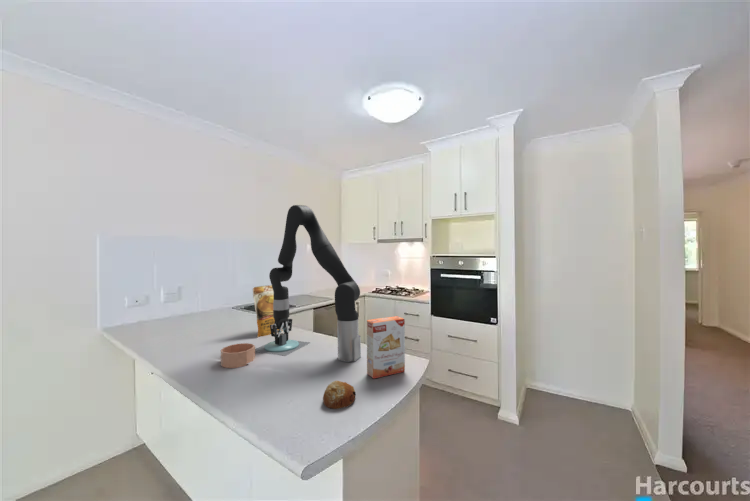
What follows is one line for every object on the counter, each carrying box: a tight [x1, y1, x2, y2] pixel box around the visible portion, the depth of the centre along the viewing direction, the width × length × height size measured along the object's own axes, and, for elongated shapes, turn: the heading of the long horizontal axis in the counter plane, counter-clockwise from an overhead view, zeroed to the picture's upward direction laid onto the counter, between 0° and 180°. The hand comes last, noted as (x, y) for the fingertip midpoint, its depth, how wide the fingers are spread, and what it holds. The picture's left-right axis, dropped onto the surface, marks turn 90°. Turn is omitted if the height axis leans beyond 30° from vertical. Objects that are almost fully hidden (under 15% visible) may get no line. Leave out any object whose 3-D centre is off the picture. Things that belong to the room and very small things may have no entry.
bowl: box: [220, 342, 256, 369], centre depth 129 cm, size 13×13×6 cm
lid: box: [264, 332, 299, 352], centre depth 146 cm, size 16×16×6 cm
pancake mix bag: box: [252, 284, 284, 338], centre depth 170 cm, size 7×19×28 cm, turn 141°
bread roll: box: [322, 380, 357, 410], centre depth 94 cm, size 10×10×8 cm
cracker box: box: [366, 315, 406, 379], centre depth 115 cm, size 14×6×21 cm, turn 117°
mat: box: [255, 340, 311, 357], centre depth 146 cm, size 20×20×1 cm
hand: (281, 342), depth 146 cm, fingers open, 5 cm apart
